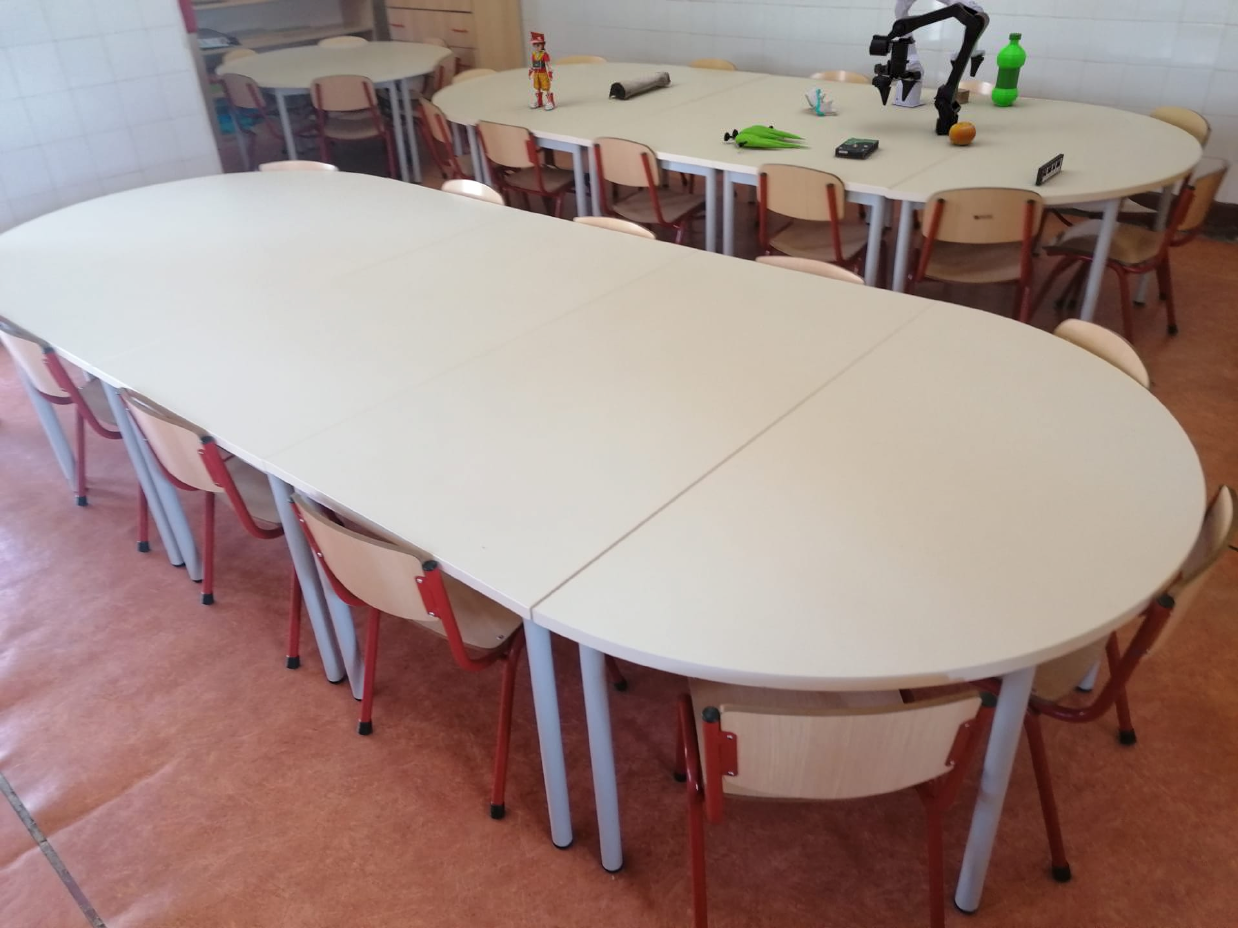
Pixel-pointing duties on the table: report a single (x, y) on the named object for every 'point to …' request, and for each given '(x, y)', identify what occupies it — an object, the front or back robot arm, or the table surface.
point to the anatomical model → (819, 102)
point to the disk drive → (856, 148)
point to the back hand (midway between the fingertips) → (964, 78)
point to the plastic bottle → (1008, 71)
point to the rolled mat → (638, 84)
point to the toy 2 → (761, 137)
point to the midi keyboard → (1049, 169)
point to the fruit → (962, 133)
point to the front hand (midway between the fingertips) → (893, 103)
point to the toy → (541, 71)
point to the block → (962, 95)
